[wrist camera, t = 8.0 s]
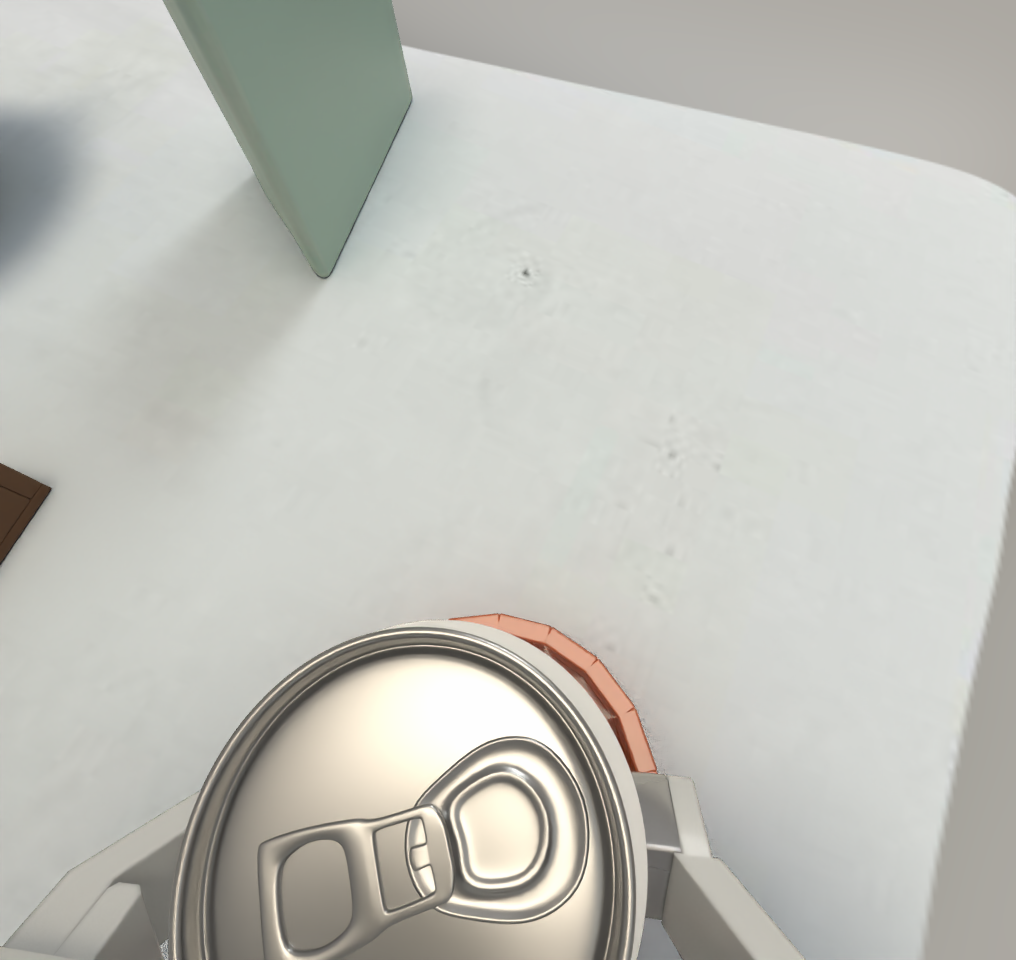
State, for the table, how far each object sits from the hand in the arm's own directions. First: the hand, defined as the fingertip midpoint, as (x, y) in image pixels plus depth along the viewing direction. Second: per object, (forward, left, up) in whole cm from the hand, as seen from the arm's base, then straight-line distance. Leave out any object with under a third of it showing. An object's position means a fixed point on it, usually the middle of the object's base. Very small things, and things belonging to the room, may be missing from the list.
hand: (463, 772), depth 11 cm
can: (-1, 0, -7) cm, 7 cm away
